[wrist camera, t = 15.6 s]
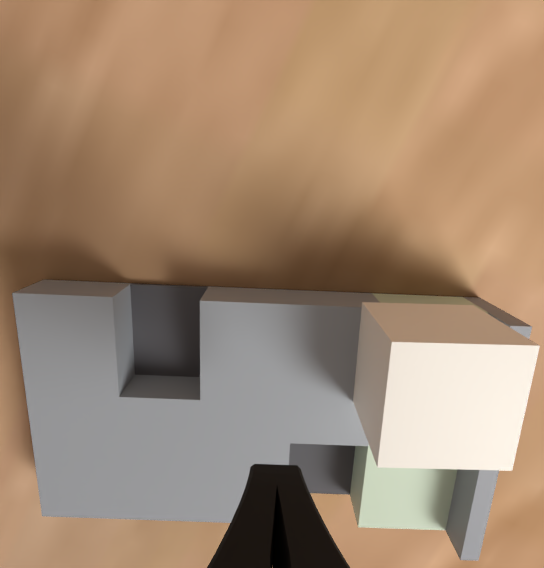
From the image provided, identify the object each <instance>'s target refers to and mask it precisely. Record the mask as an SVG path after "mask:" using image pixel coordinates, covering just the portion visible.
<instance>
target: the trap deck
mask: <svg viewBox="0 0 544 568" xmlns="http://www.w3.org/2000/svg"><path fill="white" fill-rule="evenodd" d="M12 295H13V302H14V310H15V317H16V325H17V332H18V340H19V347H20V354H21V362H22V369H23V377H24V384H25V392H26V399H27V407H28V414H29V422H30V429H31V437H32V444H33V451H34V459H35V466H36V474H37V481H38V489H39V496H40V504H41V511H42V516H51V517H79V518H108V519H137V520H166V521H194V522H223V523H231V521H232V519H233V517H234V514H235V512H236V510H237V507H238V505H239V503H240V500H241V498H242V495H243V492H244V490H245V487H246V484H247V480H248V476H249V472H250V467H251V466H252V465H254V464H275V465H298V467H299V468H300V469H301V471H302V474H303V477H304V480H305V483H306V485H307V488H308V490H309V492H310V493H324V494H350V497H351V501H352V505H353V509H354V513H355V517H356V521H357V525H358V527H367V528H395V529H424V530H446V532H447V534H448V536H449V538H450V540H451V542H452V544H453V546H454V548H455V550H456V552H457V554H458V556H459V558H460V560H479V556H480V551H481V547H482V543H483V538H484V534H485V530H486V525H487V521H488V517H489V512H490V508H491V503H492V499H493V495H494V490H495V486H496V482H497V477H498V473H499V470H462V469H420V468H378V467H377V465H376V462H375V460H374V457H373V454H372V452H371V449H370V446H369V443H368V441H367V438H366V435H365V433H364V430H363V427H362V424H361V422H360V419H359V416H358V414H357V411H356V408H355V406H354V403H353V396H354V385H355V374H356V363H357V352H358V341H359V330H360V320H361V309H362V302H376V303H413V304H450V305H474V306H476V307H477V308H479V309H480V310H482V311H484V312H485V313H487V314H489V315H490V316H492V317H494V318H495V319H497V320H498V321H500V322H502V323H503V324H505V325H507V326H508V327H510V328H512V329H513V330H515V331H516V332H518V333H520V334H521V335H523V336H525V337H526V338H528V339H529V337H530V333H531V329H532V326H530V325H528V324H526V323H524V322H523V321H521V320H519V319H517V318H515V317H514V316H512V315H510V314H508V313H506V312H505V311H503V310H501V309H499V308H497V307H496V306H494V305H492V304H490V303H488V302H487V301H485V300H483V299H481V298H476V297H452V296H428V295H404V294H379V293H355V292H331V291H307V290H283V289H259V288H235V287H210V286H186V285H162V284H138V283H114V282H90V281H66V280H42V281H39V282H37V283H35V284H32V285H30V286H28V287H25V288H23V289H20V290H18V291H16V292H13V293H12Z"/></svg>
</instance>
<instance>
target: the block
mask: <svg viewBox="0 0 544 568" xmlns="http://www.w3.org/2000/svg"><path fill="white" fill-rule="evenodd" d="M539 347H540V346H539V345H538V344H536V343H534V342H533V341H531V340H530V339H528V338H526V337H525V336H523V335H521V334H520V333H518V332H516V331H515V330H513V329H512V328H510V327H508V326H507V325H505V324H503V323H502V322H500V321H498V320H497V319H495V318H494V317H492V316H490V315H489V314H487V313H485V312H484V311H482V310H480V309H479V308H477V307H476V306H474V305H450V304H413V303H376V302H362V309H361V320H360V330H359V341H358V352H357V363H356V374H355V385H354V396H353V403H354V406H355V408H356V411H357V414H358V416H359V419H360V422H361V424H362V427H363V430H364V433H365V435H366V438H367V441H368V443H369V446H370V449H371V452H372V454H373V457H374V460H375V462H376V465H377V467H378V468H420V469H462V470H504V471H512V469H513V464H514V460H515V455H516V451H517V446H518V442H519V437H520V432H521V428H522V423H523V419H524V414H525V410H526V405H527V401H528V396H529V392H530V387H531V383H532V378H533V374H534V369H535V365H536V360H537V356H538V351H539Z"/></svg>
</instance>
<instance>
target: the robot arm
mask: <svg viewBox="0 0 544 568" xmlns="http://www.w3.org/2000/svg"><path fill="white" fill-rule="evenodd" d="M272 566H273V568H350V567H349V565H348V564H347V562H346V561H345V559H344V557H343V556H342V554H341V552H340V551H339V549H338V547H337V545H336V544H335V542H334V540H333V538H332V537H331V535H330V533H329V531H328V529H327V527H326V525H325V524H324V522H323V520H322V518H321V516H320V514H319V512H318V510H317V508H316V506H315V504H314V501H313V499H312V497H311V495H310V492H309V490H308V488H307V485H306V483H305V480H304V477H303V474H302V471H301V469H300V468H299V467H298V465H275V464H254V465H252V466H251V467H250V472H249V476H248V480H247V484H246V487H245V490H244V492H243V495H242V498H241V500H240V503H239V505H238V507H237V510H236V512H235V514H234V517H233V519H232V521H231V523H230V526H229V528H228V530H227V532H226V534H225V535H224V537H223V539H222V541H221V543H220V545H219V547H218V549H217V551H216V553H215V555H214V556H213V558H212V560H211V562H210V564H209V565H208V567H207V568H272Z"/></svg>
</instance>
